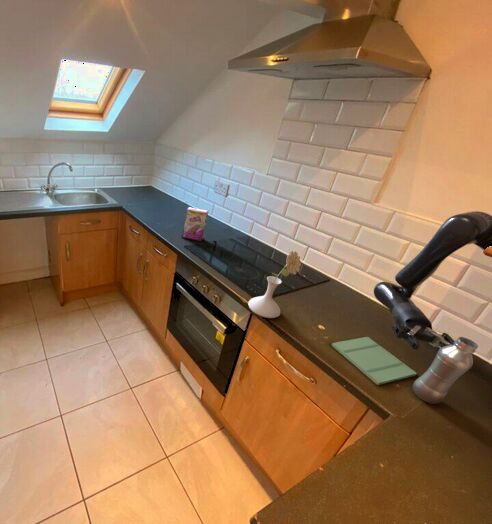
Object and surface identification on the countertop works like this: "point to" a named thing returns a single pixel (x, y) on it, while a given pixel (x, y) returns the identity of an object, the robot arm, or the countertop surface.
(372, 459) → the countertop surface
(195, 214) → the pink beige food bag
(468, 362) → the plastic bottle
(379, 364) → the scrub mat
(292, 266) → the flower in vase
